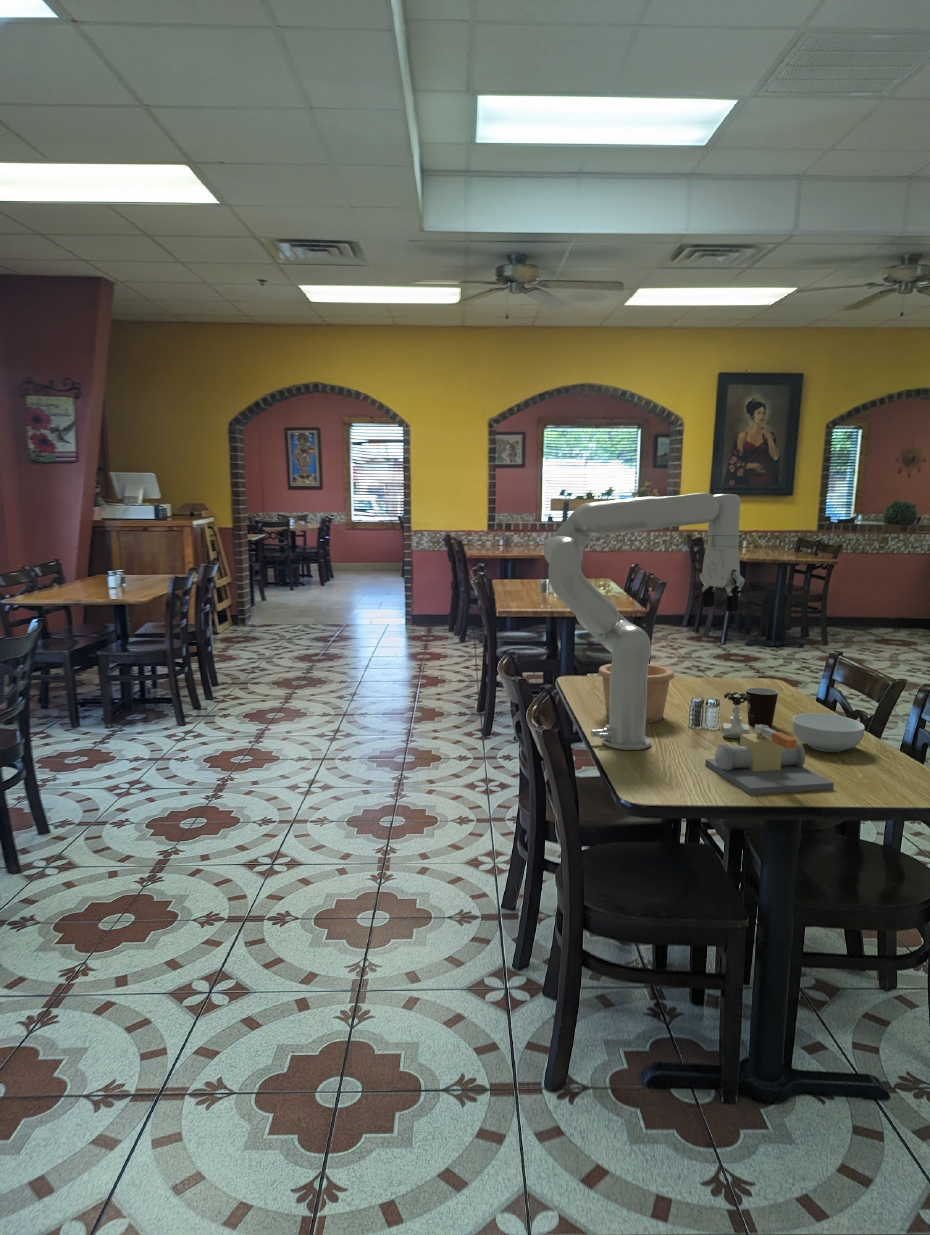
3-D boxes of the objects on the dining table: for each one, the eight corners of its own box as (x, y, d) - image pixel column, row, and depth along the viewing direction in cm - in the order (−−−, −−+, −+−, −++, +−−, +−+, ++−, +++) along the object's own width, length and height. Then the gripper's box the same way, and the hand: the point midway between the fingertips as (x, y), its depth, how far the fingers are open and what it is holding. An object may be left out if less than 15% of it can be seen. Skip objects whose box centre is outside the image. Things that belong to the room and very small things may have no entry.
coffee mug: (773, 730, 215) (775, 695, 213) (741, 726, 219) (743, 692, 218) (780, 721, 224) (782, 687, 223) (750, 717, 229) (751, 684, 228)
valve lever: (752, 732, 180) (752, 723, 179) (763, 731, 180) (764, 723, 180) (785, 749, 166) (786, 740, 166) (798, 748, 167) (798, 739, 167)
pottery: (594, 706, 241) (596, 661, 240) (666, 708, 239) (667, 663, 238) (600, 725, 220) (601, 676, 218) (678, 727, 218) (680, 677, 216)
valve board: (749, 794, 165) (752, 753, 164) (705, 765, 185) (706, 727, 183) (833, 789, 169) (836, 748, 167) (780, 760, 188) (783, 724, 187)
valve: (749, 742, 204) (752, 698, 202) (723, 740, 205) (725, 697, 203) (745, 735, 210) (748, 692, 208) (720, 734, 211) (722, 691, 210)
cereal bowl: (792, 753, 194) (794, 726, 193) (789, 735, 210) (790, 710, 209) (867, 761, 188) (869, 733, 188) (858, 742, 204) (860, 716, 203)
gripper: (690, 541, 204) (688, 605, 206) (731, 544, 187) (728, 613, 190) (714, 541, 206) (711, 604, 208) (757, 543, 190) (753, 612, 192)
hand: (719, 608), depth 199 cm, fingers open, 9 cm apart
